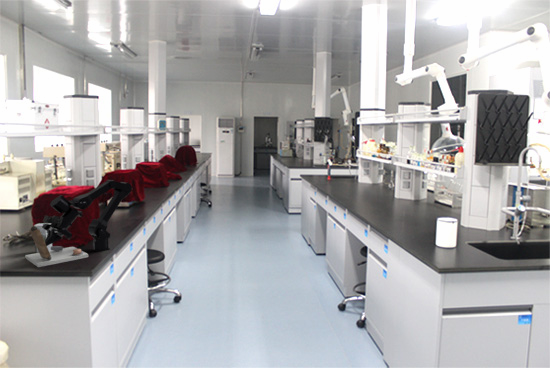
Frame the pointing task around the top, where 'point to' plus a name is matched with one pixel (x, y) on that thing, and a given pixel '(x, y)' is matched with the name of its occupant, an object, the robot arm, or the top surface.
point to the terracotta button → (76, 251)
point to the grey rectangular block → (56, 248)
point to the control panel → (55, 257)
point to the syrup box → (43, 234)
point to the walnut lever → (40, 243)
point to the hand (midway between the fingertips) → (44, 246)
